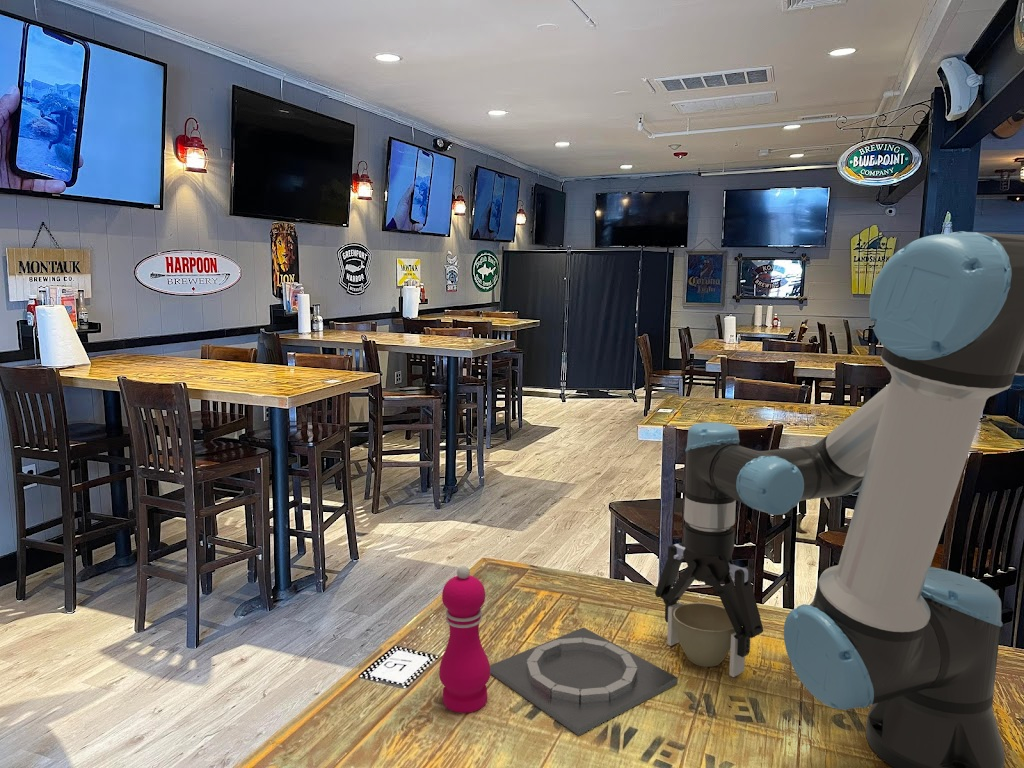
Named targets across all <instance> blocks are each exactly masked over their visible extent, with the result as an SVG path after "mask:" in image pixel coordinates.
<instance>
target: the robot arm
mask: <svg viewBox="0 0 1024 768" xmlns="http://www.w3.org/2000/svg"><path fill="white" fill-rule="evenodd" d="M868 303H869V306H868V307H869V308H868V311H869V313H868V314H869V319H870V321H872V322H874V324H875V325H874V326H873V327H872V330H873V332H874V334H875V337H876V338H877V340H878V341H879V342H880V344H881V345H882V346H883V347H882V351H881V354H880V360H881V362H882V363H883V365H884V366H885V368H886V369H887V370H888V372H889V373H890V375H891V378H890V382H889V383H888V384H886V386H884V387H883V388H882V389H880V391H878V392H877V393H876V394H874V395H873V396H872V397H871V398H870V399H868V400H867V402H865V403H864V404H863V405H862V406H860V407H859V408H858V409H857V410H856V411H854V412H853V413H852V414H851V415H850V416H849V417H847V418H846V419H845V420H843V422H841V423H840V424H839V425H838V426H837V427H835V428H834V429H833V430H832V431H830V432H829V433H828V434H827V435H826V436H824V437H823V438H822V439H821V440H819V441H818V442H817V443H815V444H812V445H806V446H797V447H788V448H781V449H780V448H777V449H769V450H755V449H752V448H748V447H745V446H743V445H741V444H740V442H741V440H740V434H739V433H740V432H739V429H738V428H737V427H735V426H734V424H733V425H732V424H729V423H722V422H700V423H698V422H697V423H695V424H692V425H691V426H690V427H689V428H688V430H687V431H688V432H687V439H686V441H687V443H686V448H685V449H684V450H685V484H684V485H685V489H684V491H685V495H684V508H683V509H684V511H683V512H684V513H683V519H684V521H685V523H684V525H683V543H682V542H678V543H675V544H672V545H670V546H668V549H667V560H666V562H665V565H664V568H663V570H662V572H661V575H660V578H659V581H658V583H657V586H656V589H655V591H654V595H655V596H656V597H657V598H660V599H662V600H663V603H664V620H665V622H666V623H667V639H666V645H668V646H670V647H672V646H674V645H676V644H678V643H680V642H679V639H678V636H677V633H676V629H675V624H674V617H673V612H674V610H675V609H676V608H677V607H679V606H681V605H684V604H683V603H682V602H680V600H682V599H681V598H682V596H683V595H684V594H685V592H686V591H687V590H688V589H689V588H690V586H691V585H692V584H693V582H695V581H697V582H700V583H705V585H708V586H710V587H712V589H713V591H714V593H715V594H717V595H718V597H719V599H720V601H721V603H722V607H724V608H725V610H726V612H727V615H728V617H729V619H730V621H731V623H732V626H733V628H734V630H735V633H733V634H731V648H730V650H729V674H728V675H729V676H730V677H732V678H735V677H738V676H739V675H740V674H742V673H744V672H745V666H746V665H745V663H746V656H748V655H749V654H750V651H751V650H750V649H751V639H753V638H754V637H757V636H759V635H761V634H762V633H763V632H764V627H763V623H762V620H761V615H760V612H759V609H758V603H757V601H756V597H755V596H756V595H755V593H754V592H755V591H754V588H753V586H752V569H751V567H750V566H748V565H747V566H744V567H741V566H739V565H736V564H734V561H733V556H732V555H733V552H734V549H735V537H736V536H735V533H736V530H735V529H736V528H735V527H734V525H735V523H736V506H737V504H736V503H737V502H740V503H741V504H743V505H746V506H747V507H749V508H751V509H752V510H756V511H758V512H762V513H766V514H770V515H775V516H780V515H785V514H788V513H789V512H790V511H791V510H792V509H793V508H795V507H797V506H798V504H799V503H800V502H802V501H806V500H807V501H808V500H815V499H823V498H833V497H845V496H846V497H847V496H849V495H851V494H854V493H857V494H858V495H857V499H856V502H855V506H854V509H853V511H852V516H851V520H850V522H849V527H848V529H847V533H846V537H845V540H844V545H843V548H842V550H841V554H840V558H839V561H838V564H837V565H833V566H829V567H828V568H825V570H824V571H823V572H822V573H821V574H820V577H819V578H818V582H817V587H816V590H815V593H814V596H813V600H812V601H811V603H809V604H805V603H804V604H801V605H798V606H797V607H796V608H793V609H792V610H791V611H790V612H788V614H787V616H786V617H785V621H784V625H783V638H784V639H783V641H784V642H783V643H784V647H785V650H786V651H785V652H786V654H787V657H788V659H789V661H790V663H791V666H792V668H793V671H794V672H795V675H796V676H797V678H798V680H800V682H801V684H802V685H803V686H804V687H805V688H806V690H807V691H808V692H809V693H810V694H811V695H812V696H813V697H814V698H815V699H816V700H817V701H819V702H821V703H822V704H824V706H827V707H829V708H831V709H835V710H840V711H843V710H844V711H847V710H852V709H858V708H860V709H865V708H869V707H870V710H869V711H868V713H867V716H866V718H867V719H866V726H865V727H866V728H865V735H866V740H867V742H868V745H869V747H870V748H871V750H872V751H873V752H874V753H875V754H876V755H877V756H878V758H880V759H881V760H882V761H883V762H885V763H886V764H888V765H889V766H890V767H892V768H1005V760H1006V756H1005V755H1006V754H1005V749H1004V745H1003V742H1002V738H1001V734H1000V731H999V727H998V724H997V721H996V716H995V714H994V713H995V712H994V710H993V704H994V703H993V702H994V691H995V685H996V675H997V665H998V664H997V663H998V655H999V646H1000V636H1001V627H1003V624H1004V623H1003V622H1002V600H1001V598H1000V597H999V595H998V593H996V591H995V590H994V589H993V588H992V587H990V586H988V585H987V584H985V583H983V582H981V581H979V580H976V579H975V578H972V577H970V576H967V575H964V574H962V573H958V572H955V571H951V570H947V569H943V568H939V567H934V566H932V562H933V559H934V556H935V554H936V551H937V549H938V544H939V541H940V539H941V535H942V533H943V530H944V526H945V523H946V520H947V518H948V515H949V512H950V510H951V505H952V503H953V501H954V497H955V494H956V491H957V489H958V485H959V483H960V480H961V478H962V477H961V476H962V474H963V470H964V467H965V465H966V462H967V459H968V455H969V453H970V450H971V448H972V445H973V441H974V438H975V435H976V433H977V431H978V430H977V429H978V427H979V424H980V420H981V417H982V415H983V411H984V409H985V406H986V402H987V400H988V399H989V398H990V397H993V396H995V395H997V394H999V393H1001V392H1004V391H1006V390H1008V389H1009V388H1011V387H1012V384H1013V381H1014V378H1015V376H1024V234H1014V233H1013V234H1011V233H993V232H992V233H990V232H977V231H976V232H975V231H974V232H973V231H963V230H962V231H961V230H960V231H955V232H950V233H940V234H933V235H932V234H931V235H927V236H923V237H920V238H917V239H915V240H913V241H911V242H909V243H908V244H907V245H905V246H904V247H903V248H901V249H899V250H898V251H897V252H895V253H894V254H893V255H892V256H891V257H890V258H889V259H888V260H887V261H886V263H885V264H884V265H883V266H882V268H881V270H880V271H879V273H878V274H877V277H876V278H875V281H874V283H873V285H872V288H871V292H870V297H869V302H868ZM683 559H684V560H685V563H686V565H687V566H686V568H685V569H684V570H683V572H682V573H681V576H680V577H679V579H678V580H677V581H676V578H677V576H678V573H679V570H680V568H681V565H682V563H683ZM731 575H732V576H731ZM675 581H676V583H675ZM723 582H724V584H723V585H721V584H722V583H723ZM678 601H679V602H678Z"/></svg>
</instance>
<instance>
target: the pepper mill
mask: <svg viewBox="0 0 1024 768" xmlns="http://www.w3.org/2000/svg"><path fill="white" fill-rule="evenodd" d="M456 573H457V574H456V576H453V577H452V578H450V579H448V580H447V582H446V583H445V584H444V586H443V589H442V592H441V593H442V594H441V599H442V603H443V605H444V606H445V607H444V608H446V612H445V616H446V618H445V621H446V624H447V625H449V637H448V641H447V645H446V648H445V650H444V651H443V655H442V656H441V660H440V663H439V674H438V675H439V680H440V682H441V684H442V686H444V687H443V689H442V702H443V705H444V706H445V707H446V708H447V709H448V710H449V711H452V712H455V713H460V714H467V713H474V712H477V711H479V710H480V709H483V707H484V706H485V705H486V704H487V702H488V687H487V684H488V682H489V680H490V677H491V674H490V665H491V664H490V662H489V658H488V656H487V653H486V652H485V650H484V647H483V645H482V642H481V639H480V632H479V631H480V629H479V626H480V623H481V622H482V621H483V617H482V614H483V610H482V609H481V608H482V607H483V605H484V603H485V601H486V590H485V587H484V585H483V583H482V582H481V580H479V578H477V577H475V576H473V575H470V574H471V571H470V569H469V567H467V566H464V565H463V566H460V567H459V568H457V570H456Z"/></svg>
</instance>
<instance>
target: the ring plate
mask: <svg viewBox="0 0 1024 768" xmlns="http://www.w3.org/2000/svg"><path fill="white" fill-rule="evenodd" d="M490 676H493V677H494V678H496V679H497V680H498V681H500V682H501V683H503V684H504V685H505V686H507V687H508V688H509V689H511V690H512V691H514V692H516V693H517V694H518V695H520V696H521V697H522V698H524V699H525V700H526V701H529V702H530V703H531V704H533V705H534V706H536V707H537V708H538V709H539V710H541V711H542V712H543V713H545V714H547V715H548V716H549V717H550V718H552V719H554V720H555V721H557V722H558V723H559V724H561V725H562V726H564V727H565V728H566V729H567V730H569V731H571V732H572V733H574V734H575V735H576V736H578V737H580V736H582V735H584V734H586V733H588V732H589V731H591V730H593V729H595V728H596V727H595V726H597V727H599V726H601V725H602V724H601V723H603V722H605V723H606V722H608V721H610V720H612V719H614V718H616V717H617V715H618V716H619V714H620V715H621V713H622V714H623V713H625V712H627V711H629V710H631V709H633V708H635V707H637V706H638V705H640V704H642V703H644V702H646V701H648V700H649V699H651V698H653V697H655V696H657V695H659V694H661V693H663V692H666V690H669V689H670V688H673V687H674V686H676V685H678V681H679V680H678V679H679V678H678V676H676V675H674V674H672V673H670V672H669V671H667V670H665V669H663V668H660V667H659V666H657V665H655V664H653V663H651V662H649V661H647V660H646V659H644V658H642V657H640V656H638V655H637V654H635V653H633V652H630V651H629V650H627V649H625V648H623V647H622V646H619V645H617V644H616V643H614V642H611V641H610V640H608V639H606V638H605V637H603V636H601V635H599V634H597V633H595V632H593V631H592V630H590V629H588V628H586V627H581V628H579V629H576V630H574V631H571V632H569V633H566V634H564V635H561V636H559V637H556V638H554V639H551V640H549V641H546V642H544V643H542V644H539V645H537V646H534V647H532V648H530V649H528V650H527V649H526V650H525V651H522V652H520V653H517V654H515V655H512V656H509V657H507V658H505V659H502V660H500V661H498V662H495V663H492V664H490ZM636 705H637V706H636ZM613 717H614V718H613ZM609 719H610V720H609ZM607 720H608V721H607ZM600 724H601V725H600ZM603 724H604V723H603ZM598 725H599V726H598ZM594 727H595V728H594ZM592 728H593V729H592ZM588 730H589V731H588ZM587 731H588V732H587ZM585 732H586V733H585ZM583 733H584V734H583Z"/></svg>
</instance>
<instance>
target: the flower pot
mask: <svg viewBox="0 0 1024 768" xmlns="http://www.w3.org/2000/svg"><path fill="white" fill-rule="evenodd" d="M673 617H674V624H675V629H676V633H677V636H678V639H679V642H678V643H679V644H680V645H681V648H682V651H683V652H684V654H685V656H686V657H687V659H688V661H690V662H691V663H692V664H694V665H697V666H700V667H705V668H713V667H716V666H718V665H720V664H721V663H722V662H723V660H724V659H725V658H726V657H727V655H728V653H730V648H731V634H733V633H735V630H734V628H733V626H732V623H731V621H730V619H729V617H728V615H727V612H726V610H725V608H724V606H721V605H718V604H713V603H707V602H691V603H690V602H689V603H684V604H683V605H681V606H679V607H677V608H676V609H675V610H674V612H673Z"/></svg>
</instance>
